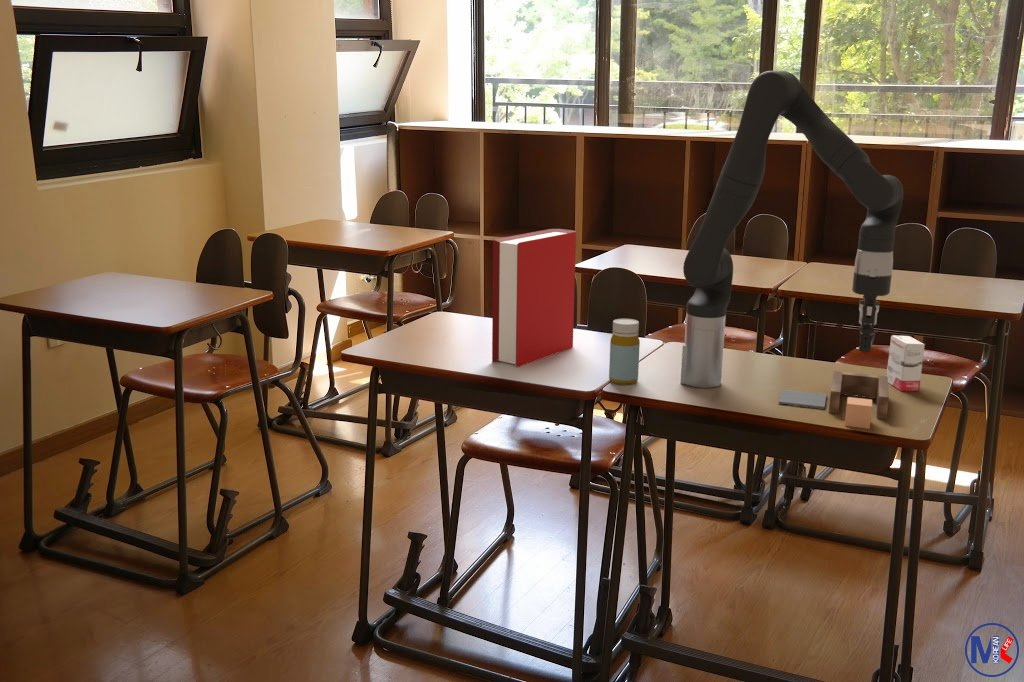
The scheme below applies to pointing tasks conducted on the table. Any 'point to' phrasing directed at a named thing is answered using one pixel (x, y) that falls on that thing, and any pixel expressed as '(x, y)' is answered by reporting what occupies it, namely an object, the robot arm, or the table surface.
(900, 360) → the ink box
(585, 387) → the table surface
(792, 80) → the robot arm
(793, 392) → the pad
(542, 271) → the book
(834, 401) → the cubby
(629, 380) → the bottle
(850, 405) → the cube
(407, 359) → the table surface
